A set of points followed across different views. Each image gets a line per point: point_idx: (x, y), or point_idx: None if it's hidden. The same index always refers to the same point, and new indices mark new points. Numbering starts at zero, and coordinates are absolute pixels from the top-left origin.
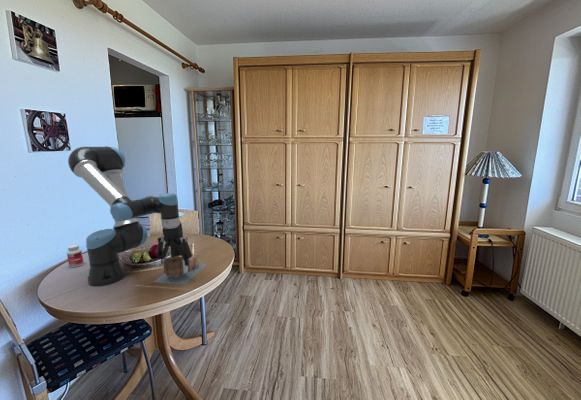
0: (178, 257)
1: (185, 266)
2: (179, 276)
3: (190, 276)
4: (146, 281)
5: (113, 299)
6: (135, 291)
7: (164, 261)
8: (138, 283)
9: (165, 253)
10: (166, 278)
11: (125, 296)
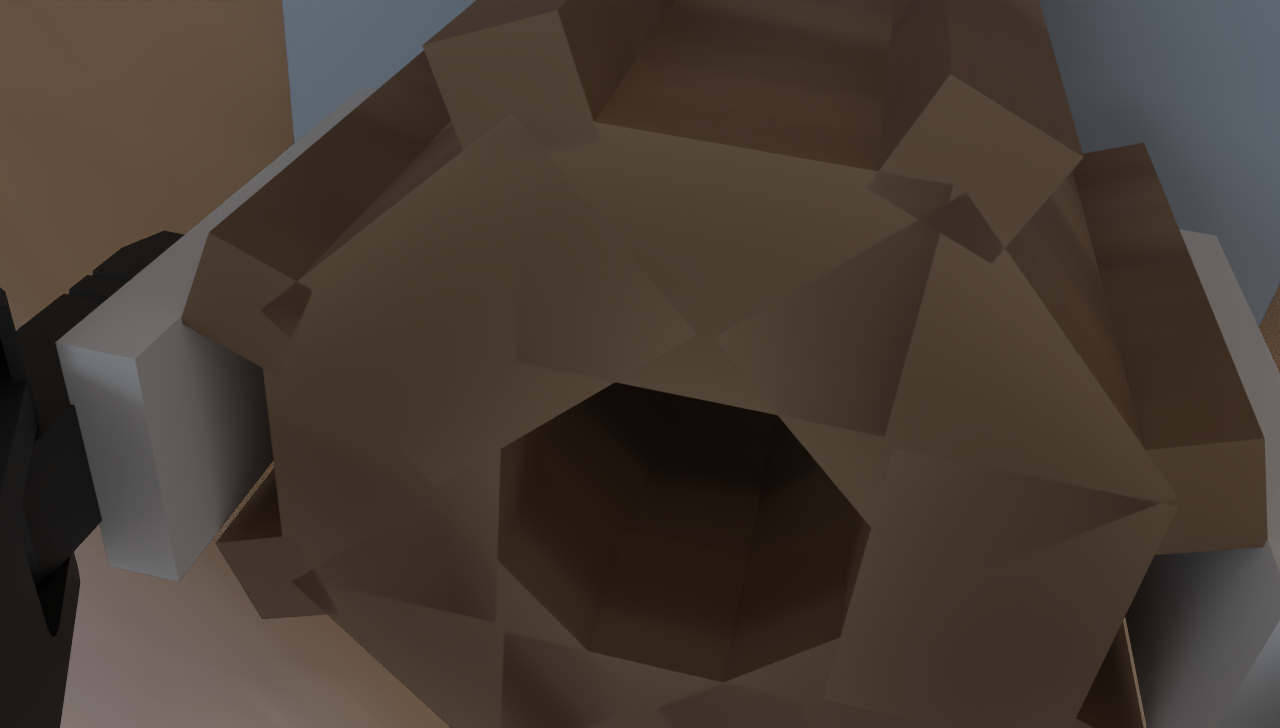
0: (733, 261)
1: None
2: None
3: (1237, 136)
4: (101, 232)
5: (88, 708)
6: (213, 565)
7: (298, 607)
8: (12, 304)
9: (19, 685)
10: None
11: (184, 669)
